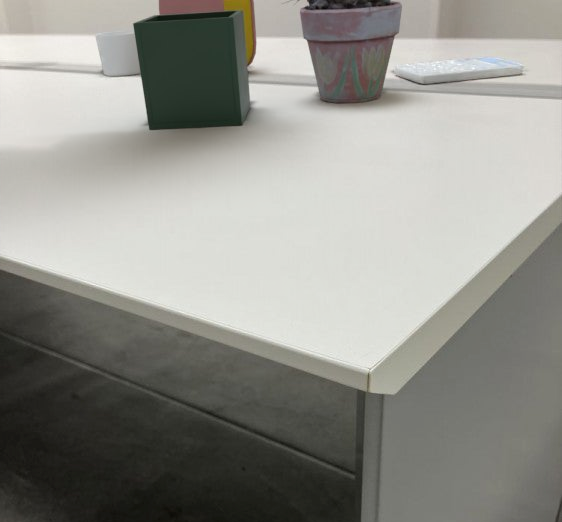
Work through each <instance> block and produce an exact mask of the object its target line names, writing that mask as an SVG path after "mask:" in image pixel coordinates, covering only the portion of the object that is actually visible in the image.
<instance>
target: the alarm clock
mask: <svg viewBox="0 0 562 522" xmlns="http://www.w3.org/2000/svg"><path fill="white" fill-rule="evenodd" d="M233 10H243V14H244V27H245V41H246V54H247V67H248V68H249V66H251V64H253V62H254V59H255V56H256V54H257V30H256V15H255V2H254V0H158V13H159V14H158V15H167V14H184V13H200V12H217V11H233Z"/></svg>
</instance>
